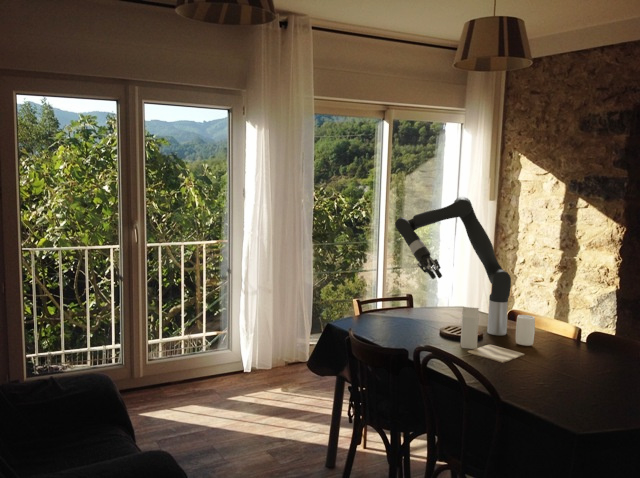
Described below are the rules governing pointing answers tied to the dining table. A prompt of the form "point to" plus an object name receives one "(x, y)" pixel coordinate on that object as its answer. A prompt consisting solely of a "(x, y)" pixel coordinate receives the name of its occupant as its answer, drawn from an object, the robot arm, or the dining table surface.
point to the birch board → (496, 353)
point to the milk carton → (469, 327)
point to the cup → (525, 329)
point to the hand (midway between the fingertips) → (437, 277)
